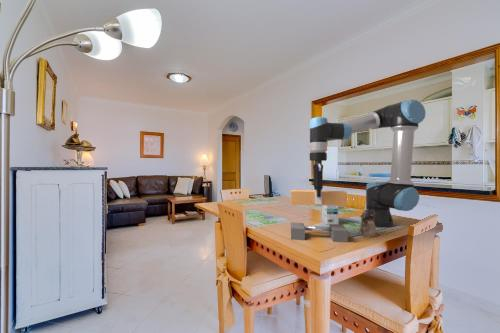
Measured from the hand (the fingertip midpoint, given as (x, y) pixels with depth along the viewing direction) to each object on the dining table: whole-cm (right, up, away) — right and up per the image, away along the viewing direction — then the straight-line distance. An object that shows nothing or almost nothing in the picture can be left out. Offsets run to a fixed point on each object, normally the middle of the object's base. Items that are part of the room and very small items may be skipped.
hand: (317, 202), depth 109 cm
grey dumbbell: (0, -16, 0) cm, 16 cm away
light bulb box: (+14, -15, +26) cm, 34 cm away
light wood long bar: (0, -1, 0) cm, 1 cm away
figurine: (+25, -16, +5) cm, 30 cm away
